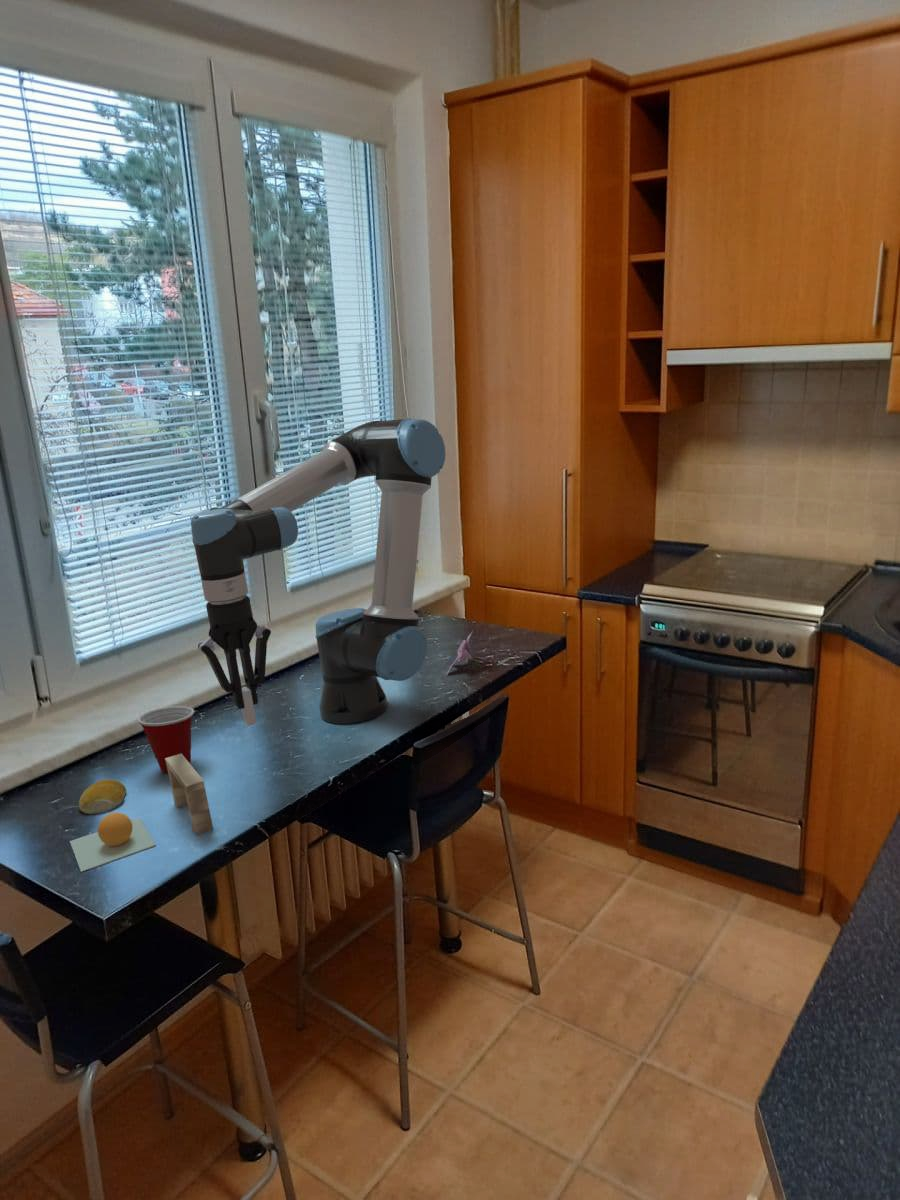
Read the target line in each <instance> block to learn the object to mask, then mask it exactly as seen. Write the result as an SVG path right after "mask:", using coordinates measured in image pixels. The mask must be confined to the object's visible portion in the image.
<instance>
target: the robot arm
mask: <svg viewBox="0 0 900 1200" xmlns="http://www.w3.org/2000/svg"><path fill="white" fill-rule="evenodd" d="M445 461H446V445H445V442H444V439H443V436H442V434H440V432H439V429H438V428H437V427H436V425H434V424H433V423H431V422H430V421H428V420H425V419H420V418H419V419H418V418H408V417H407V418H403V419H402V418H401V419H387V420H371V421H369V422H365V423H363V424H360V425H358V426H356V427H353V428H352V429H350V430H348V431H346V432H345V433H342V434H341V435H338V436H337V437H336V438H333V439H332V440H330V441H328V442H326V443H325V444H324V445H323V447H322V451H320V452H319V453H317V454H315V455H313V456H312V457H309V458H308V459H306V460H304V461H302V462H301V463H299V464H296V466H294V467H292V468H290V469H288V470H286V471H285V472H283V473H281V474H280V475H278V476H275V477H274V478H272V479H271V480H269V481H267V482H265V483H263V484H262V485H260V486H258V487H256V488H255V489H252V490H250V491H249V492H247V493H246V494H243V495H242V496H239V497H238V498H236V499H234V500H232V501H230V502H228V503H227V504H225V505H223V506H221V507H211V508H205V509H203V510H202V511H201V512H197V513H195V514H194V515H193V516H192V517H191V520H190V526H191V527H190V530H191V535H192V543H193V546H194V550H195V556H196V561H197V566H198V570H199V575H200V580H201V586H202V591H203V597H204V600H205V601H206V602H207V603H206V604H205V608H206V613H207V618H208V622H209V623H208V624H209V630H208V638H206V639H205V640H204V642H199V643H198V644H197V648H198V649H199V650H200V651H201V652H202V653H203V654H205V656H206V659H207V660H208V663H209V665H210V667H211V669H212V671H213V673H214V675H215V677H216V679H217V681H218V684H219V686H220V687H221V689H222V690H223V691H224V692H226V693H232V695H233V699H234V705H235V707H236V708H237V709H239V710H241V712H242V718H243V721H244V723H245V724H246V725H247V726H252V725H256V724H257V723H258V722H257V716H256V713H255V712H256V711H255V706H254V705H257V704H258V702H259V699H258V693H257V689H258V685H259V684H260V683H264V682H265V681H266V679H265V678H266V665H267V649H268V640H269V639H270V636H271V633H272V631H271V629H269V628H267V627H265V626H259V625H258V623H257V621H256V620H255V619H254V617H253V616H254V615H253V610H252V604H251V599H250V596H248V594H249V587H248V583H247V579H246V572H245V565H244V560H247V559H251V558H253V557H257V556H262V555H264V554H268V553H272V552H275V551H282V549H285V548H288V547H290V546H293V545H294V544H295V543H296V541H297V538H298V537H299V527H298V522H297V519H296V517H295V515H294V513H293V511H296V510H297V509H300V507H303V505H306V504H308V503H310V502H312V500H314V499H316V498H318V497H319V496H321V495H322V494H324V493H326V492H328V491H330V490H331V489H333V488H334V487H336V486H338V485H339V484H343V485H347V484H351V483H353V482H354V481H356V480H358V479H361V478H365V477H366V478H367V477H374V478H375V479H374V480H375V483H376V485H377V487H379V489H380V490H381V495H380V507H379V517H378V518H379V519H378V529H377V530H378V531H377V539H376V551H375V560H374V561H375V563H374V571H373V572H374V573H373V583H372V595H371V604H370V606H369V607H367V609H365V608H363V607H362V608H361V607H354V608H347V609H342V610H338V611H335V612H331V613H328V614H325V615H323V616H321V617H320V618H318V619H317V621H316V622H315V639H316V644H317V649H318V656H319V663H320V667H321V668H320V669H321V673H322V680H323V685H322V690H321V695H320V701H319V714H320V718H321V719H322V720H323V721H325V722H327V723H331V724H335V725H337V724H338V725H348V724H349V725H350V724H356V723H357V724H358V723H362V722H366V721H369V720H372V719H375V718H377V717H378V716H380V715H382V714H383V713H385V712H386V710H387V709H388V700H387V696H386V693H385V691H384V688H383V687H382V685H381V683H380V680H379V679H378V678H381V679H382V680H385V681H395V682H403V681H406V680H409V679H411V678H412V677H414V676H415V675H416V673H417V672H418V671H419V670H420V669H421V668H422V667H423V665H424V663H425V661H426V658H427V655H428V654H427V653H428V639H427V637H426V634H425V633H424V631H423V630H422V629H420V627H418V626H419V616H418V614H417V613H416V612H415V611H414V609H413V606H414V605H413V603H414V594H415V593H414V591H415V584H416V583H415V582H416V571H417V570H416V569H417V561H418V560H417V558H418V550H419V539H420V529H421V527H420V526H421V516H422V505H423V495H424V494H425V493H426V492H427V491H429V490H430V489H431V487H432V477H434V476H437V475H438V474H439V473H440V471H441V470H442V468H443V467H444V465H445ZM254 636H255V637H256V638H255V651H254V652H255V653H254V654H255V655H254V667H253V663H252V657H251V647H250V644H251V642H252V640H253V637H254ZM214 644H216V645H218V646H219V647H220V648H221V649H222V650H223V652H224V654H225V661H226V665H227V671H228V676H229V679H228V678H227V675H226V673H225V671H224V669H223V667H222V665H221V662H220V661H219V658H218V656H217V654H216V653H215V652H214V651H215V650H216V648H215V645H214ZM236 650H238V653H239V658H240V662H241V668H242V673H243V678H244V679H243V680H244V684H245V685H246V686H242V680H241V677H240V676H241V675H240V670H239V666H238V660H237V651H236Z"/></svg>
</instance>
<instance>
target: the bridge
mask: <svg viewBox="0 0 900 1200" xmlns="http://www.w3.org/2000/svg"><path fill="white" fill-rule="evenodd" d="M165 760H166V765H167V770H168V774H167V775H168V777H169V778H168V779H169V783H170V788H171V793H172V797H173V801H174V805H175V807H178V808H180V807H183V806H186V805H187V808H188V812H189V818H190V823H191V827H192V828H191V829H192V832H193V833H194V834H195V835H196V836H197V835H200V834H203V833H206V832H209V831H211V830H213V829H214V826H213V822H212V821H213V820H212V816H211V810H210V807H209V801H208V796H207V791H206V785H205V780H204V779H203V778H202V777H201V776H200V774H199V773H198V772H197V771H196V770H195V768H194V767H193V766H192V764H191V765H190V763H189V762H188V761H187V760H186V758H185V757H184V756H183V755H182V753H181V754H178V755H175V756H171V757H168V758H165ZM208 830H209V831H208Z"/></svg>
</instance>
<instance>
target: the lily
mask: <svg viewBox="0 0 900 1200" xmlns="http://www.w3.org/2000/svg"><path fill="white" fill-rule="evenodd" d="M473 632H474V630H472V632H471V633H470V634H469V635H467V638H466V640H465V639H464V640H462V642H461V644H460V645H459V647H458V648H457V647H456V648H457V649H456V648H455V650H454V651H457V657H456V658H455V660H454V661H453V663H452V664H451V665H450V667H449V669H448V671H447V674H446V675H448V674H449V673H450V670H451V668H452V667H453V666H454V665H455V664H456V663H458V662H461V661H463V660H466V659H469V658H470V659H471V660H473V661H474V662H475V663H476V665H477V666H478V667H479V666H480V667H481V665H480V664H479V662H477V660H475V658H474V657H472V655H471V654H470V649H469V641H470V638H471V636H472V634H473ZM453 664H454V665H453Z"/></svg>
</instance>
